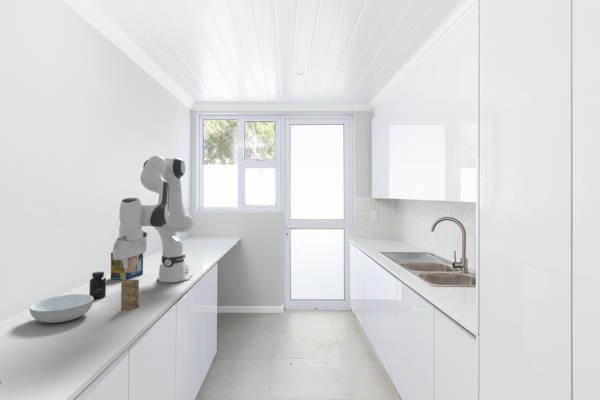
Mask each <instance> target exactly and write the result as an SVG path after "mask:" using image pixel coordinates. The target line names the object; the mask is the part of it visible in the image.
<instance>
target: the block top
mask: <svg viewBox="0 0 600 400" xmlns="http://www.w3.org/2000/svg"><path fill="white" fill-rule="evenodd" d="M139 281H140V280H139V279H133V278H131V279H127V280H122V281H121V287H120V288H121V289H120V290H121V291H123V292H133V291H135V290H137V289H139V288H140V285H139V284H140V282H139ZM139 290H140V289H139ZM121 291H120V292H121Z"/></svg>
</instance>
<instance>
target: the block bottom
mask: <svg viewBox="0 0 600 400" xmlns="http://www.w3.org/2000/svg"><path fill="white" fill-rule="evenodd" d="M139 298H140V297H139ZM139 298H137V299H135V300H133V301H121V300H120V310H121V311H133V310H135V309H137V308H139V307H140V303H139V301H140V299H139Z"/></svg>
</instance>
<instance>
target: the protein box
mask: <svg viewBox="0 0 600 400" xmlns="http://www.w3.org/2000/svg"><path fill="white" fill-rule="evenodd" d="M142 274H144V253H142V254H139V257H138V260H137V265H136V271H135V272H131V273H125V272H124V268H123V263H122V261H121V260H114V259H113V251H112V252H110V279H111V280H121V281H125V280H128V279H130V278H131V279H133V277H134V278H137V277H140V276H142ZM139 275H140V276H139ZM136 276H137V277H136Z"/></svg>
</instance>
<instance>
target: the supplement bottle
mask: <svg viewBox="0 0 600 400" xmlns="http://www.w3.org/2000/svg"><path fill="white" fill-rule="evenodd" d="M104 276H105V272H104V271H94V272H92V275H91V278H90V279H89V294H88V295H90V296H92V297H93V298H94V299H93V300H100V299H103V298H105V297H106V295H107V278H106V277H104Z"/></svg>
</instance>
